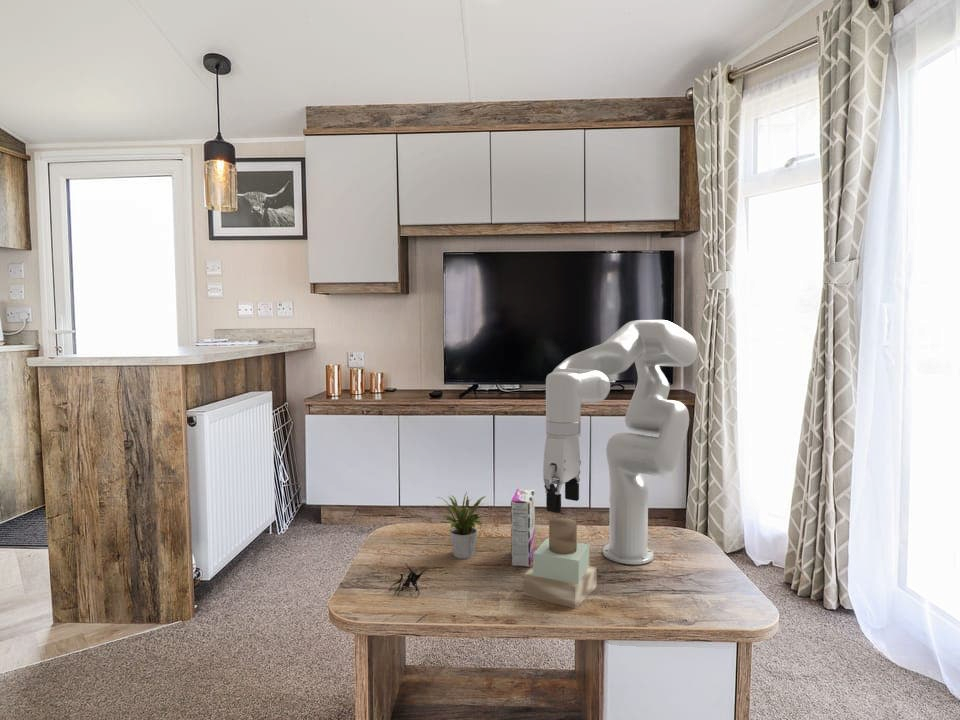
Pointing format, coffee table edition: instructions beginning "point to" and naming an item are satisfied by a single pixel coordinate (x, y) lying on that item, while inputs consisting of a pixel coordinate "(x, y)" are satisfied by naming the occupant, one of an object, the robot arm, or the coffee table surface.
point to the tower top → (561, 563)
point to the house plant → (463, 528)
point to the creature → (407, 582)
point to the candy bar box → (522, 527)
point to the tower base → (560, 588)
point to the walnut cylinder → (562, 536)
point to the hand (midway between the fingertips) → (563, 505)
